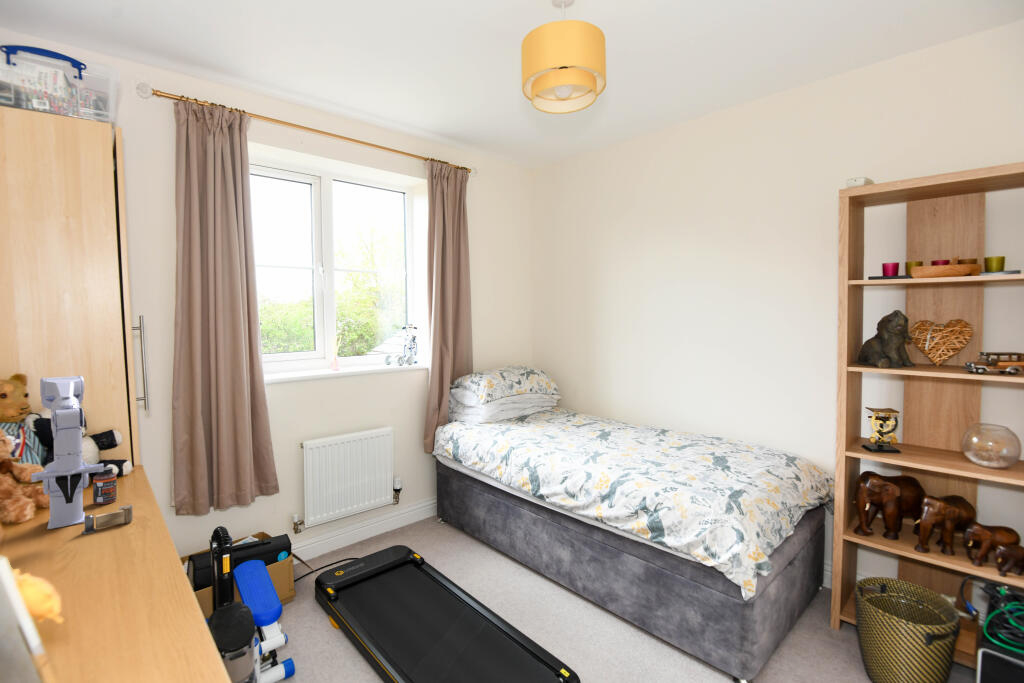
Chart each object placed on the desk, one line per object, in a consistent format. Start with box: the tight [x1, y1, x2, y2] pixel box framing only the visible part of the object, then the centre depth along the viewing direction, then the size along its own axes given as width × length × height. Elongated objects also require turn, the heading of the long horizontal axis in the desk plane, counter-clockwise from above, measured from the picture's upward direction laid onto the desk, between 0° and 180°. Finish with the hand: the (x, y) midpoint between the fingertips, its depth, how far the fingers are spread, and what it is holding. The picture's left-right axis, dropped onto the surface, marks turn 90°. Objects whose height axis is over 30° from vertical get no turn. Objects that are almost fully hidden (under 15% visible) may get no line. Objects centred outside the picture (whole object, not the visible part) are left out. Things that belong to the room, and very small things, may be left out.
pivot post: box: [81, 514, 98, 535], centre depth 137 cm, size 3×3×4 cm
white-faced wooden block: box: [118, 504, 133, 521], centre depth 145 cm, size 2×3×4 cm, turn 131°
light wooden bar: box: [95, 507, 132, 530], centre depth 141 cm, size 8×2×4 cm, turn 138°
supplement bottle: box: [92, 466, 118, 506], centre depth 160 cm, size 6×6×11 cm
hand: (69, 502), depth 133 cm, fingers closed
